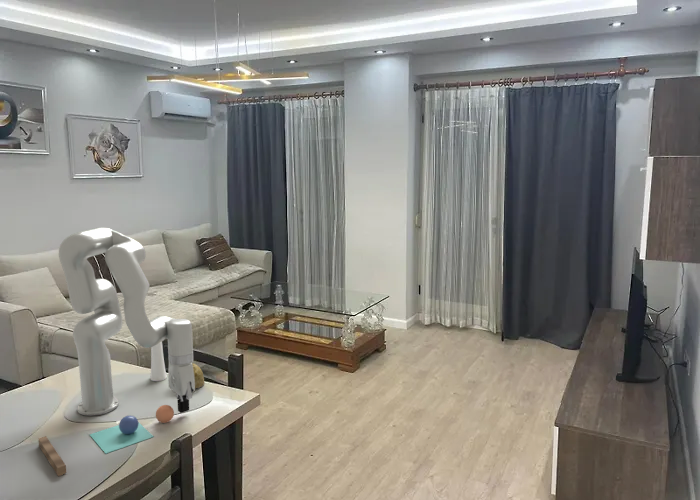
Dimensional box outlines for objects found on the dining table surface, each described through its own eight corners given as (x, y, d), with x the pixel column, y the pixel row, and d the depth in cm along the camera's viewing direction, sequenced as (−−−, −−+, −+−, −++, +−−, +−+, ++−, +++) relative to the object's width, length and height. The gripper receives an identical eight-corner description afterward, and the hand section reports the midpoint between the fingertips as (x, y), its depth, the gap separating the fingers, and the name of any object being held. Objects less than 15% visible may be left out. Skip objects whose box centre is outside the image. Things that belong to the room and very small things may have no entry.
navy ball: (138, 421, 169) (122, 434, 166) (128, 409, 166) (113, 421, 163) (144, 428, 164) (128, 440, 162) (135, 415, 162) (119, 428, 159)
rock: (190, 401, 194) (203, 379, 192) (165, 384, 195) (178, 362, 193) (202, 392, 203) (214, 370, 202) (177, 375, 204) (190, 354, 202)
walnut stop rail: (39, 446, 157) (38, 438, 156) (46, 443, 158) (45, 436, 158) (58, 476, 142) (57, 467, 142) (66, 473, 144) (65, 465, 143)
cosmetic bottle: (153, 374, 208) (150, 320, 204) (169, 375, 208) (166, 320, 204) (147, 381, 202) (143, 325, 198) (163, 381, 202) (160, 325, 198)
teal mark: (89, 435, 163) (89, 434, 163) (135, 420, 173) (135, 419, 172) (105, 453, 153) (105, 453, 153) (153, 437, 162) (153, 436, 162)
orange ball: (167, 400, 174) (169, 415, 175) (151, 406, 170) (153, 422, 172) (176, 405, 170) (177, 421, 172) (160, 412, 167) (161, 428, 168)
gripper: (159, 354, 176) (162, 406, 179) (180, 367, 165) (183, 423, 168) (181, 348, 181) (184, 399, 184) (202, 361, 170) (205, 415, 173)
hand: (183, 410), depth 176 cm, fingers closed
